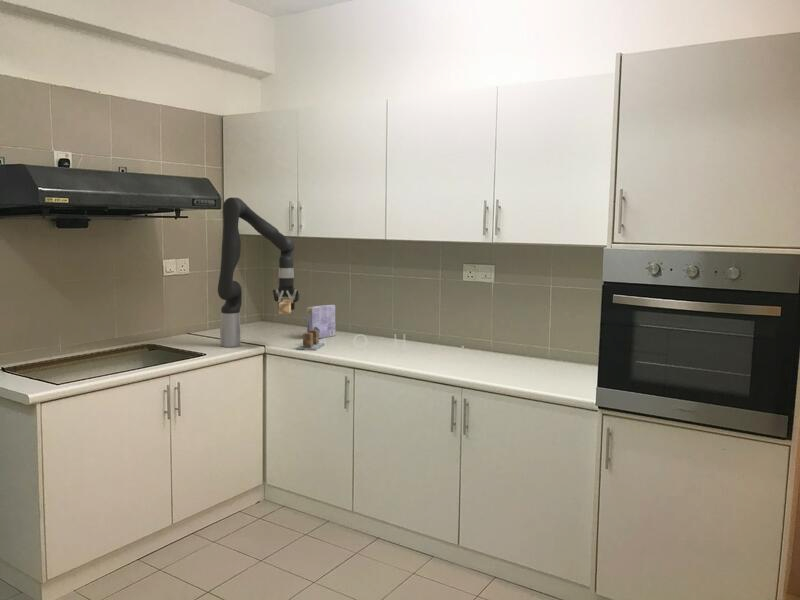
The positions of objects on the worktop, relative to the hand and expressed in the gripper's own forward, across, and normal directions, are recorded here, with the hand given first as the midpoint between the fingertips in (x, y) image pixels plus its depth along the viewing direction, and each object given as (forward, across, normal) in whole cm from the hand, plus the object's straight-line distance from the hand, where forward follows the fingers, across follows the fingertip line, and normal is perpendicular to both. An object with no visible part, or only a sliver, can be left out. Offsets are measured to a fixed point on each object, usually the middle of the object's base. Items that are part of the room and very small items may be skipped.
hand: (286, 309), depth 327 cm
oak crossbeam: (+1, 0, 0) cm, 1 cm away
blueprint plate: (+19, +12, +2) cm, 23 cm away
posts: (+19, +12, +2) cm, 23 cm away
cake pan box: (+19, +9, +30) cm, 37 cm away
